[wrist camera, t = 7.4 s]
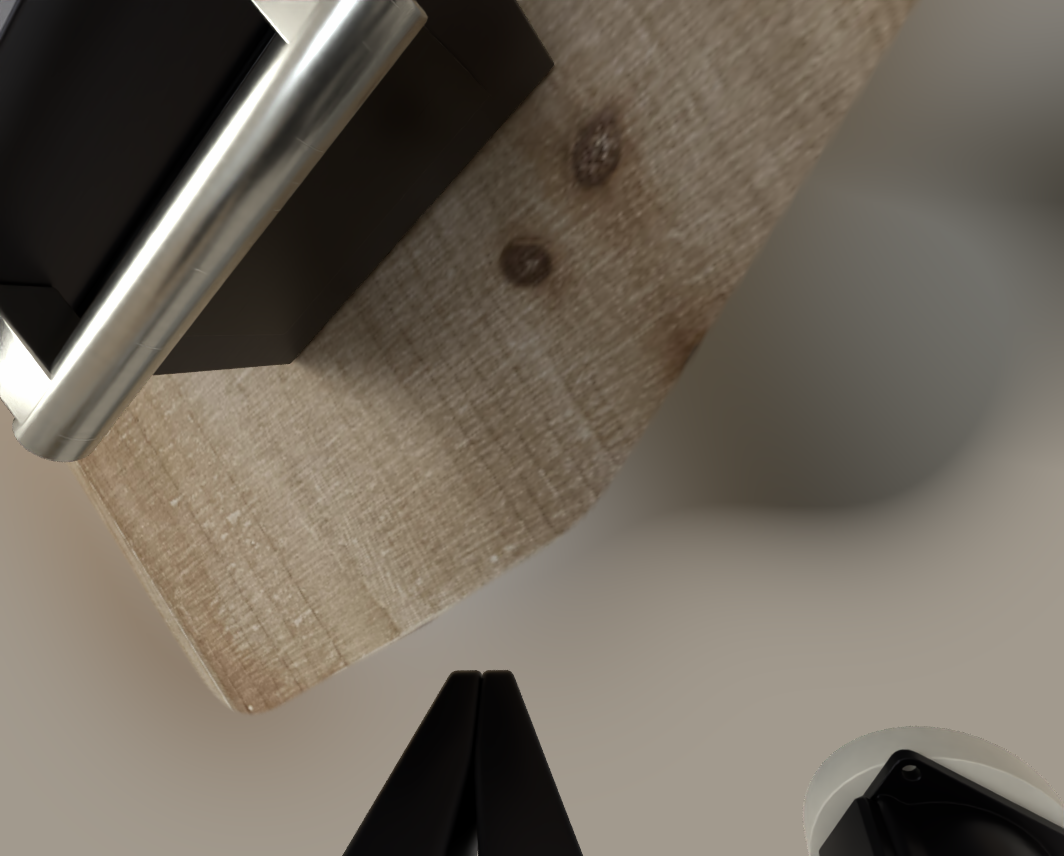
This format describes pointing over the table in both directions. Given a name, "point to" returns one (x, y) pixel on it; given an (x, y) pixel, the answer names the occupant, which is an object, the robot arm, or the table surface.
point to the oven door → (218, 179)
